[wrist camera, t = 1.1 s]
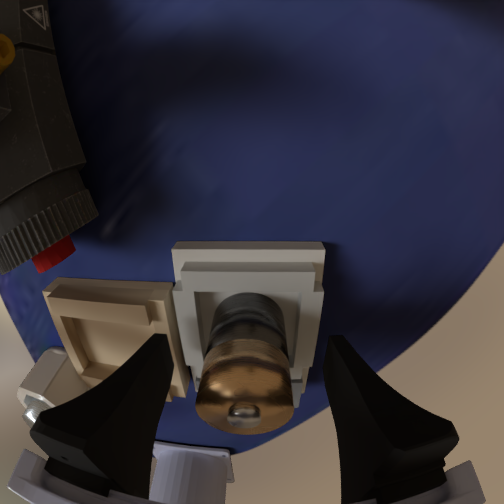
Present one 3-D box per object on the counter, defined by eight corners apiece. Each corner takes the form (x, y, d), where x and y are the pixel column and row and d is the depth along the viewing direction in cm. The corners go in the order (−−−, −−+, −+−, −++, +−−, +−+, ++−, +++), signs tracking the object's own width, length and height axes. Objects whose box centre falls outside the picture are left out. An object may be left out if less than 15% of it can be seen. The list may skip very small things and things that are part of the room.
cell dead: (95, 398, 19) (69, 454, 13) (63, 389, 19) (35, 439, 13) (79, 368, 17) (45, 428, 12) (46, 360, 17) (12, 412, 12)
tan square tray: (190, 377, 18) (184, 403, 16) (90, 363, 18) (78, 384, 16) (172, 282, 15) (160, 306, 13) (57, 277, 15) (37, 295, 13)
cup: (114, 403, 20) (96, 448, 15) (62, 389, 20) (41, 427, 15) (90, 352, 17) (61, 402, 13) (35, 340, 17) (5, 380, 13)
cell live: (282, 347, 15) (290, 441, 10) (216, 346, 15) (200, 439, 10) (285, 292, 14) (300, 390, 8) (210, 291, 14) (185, 388, 8)
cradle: (302, 381, 18) (306, 409, 15) (198, 380, 18) (192, 407, 16) (321, 241, 14) (332, 263, 11) (176, 241, 14) (162, 262, 12)
